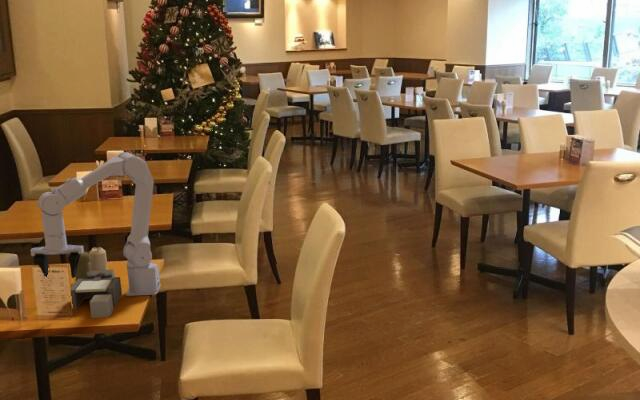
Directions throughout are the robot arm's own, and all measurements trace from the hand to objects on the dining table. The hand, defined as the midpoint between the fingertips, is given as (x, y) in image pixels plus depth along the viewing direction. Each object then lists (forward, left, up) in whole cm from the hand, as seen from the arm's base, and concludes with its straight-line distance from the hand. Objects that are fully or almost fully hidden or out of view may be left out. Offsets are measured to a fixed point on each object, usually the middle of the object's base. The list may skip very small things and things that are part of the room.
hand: (61, 277), depth 194 cm
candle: (-3, -27, -11) cm, 29 cm away
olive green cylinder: (0, -20, -11) cm, 23 cm away
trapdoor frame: (-8, -5, -10) cm, 14 cm away
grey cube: (-12, +4, -10) cm, 16 cm away
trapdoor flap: (-8, -6, -7) cm, 12 cm away
